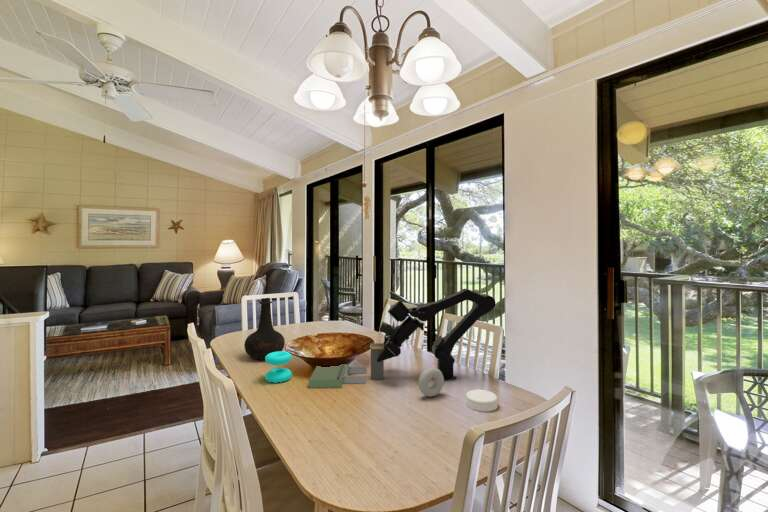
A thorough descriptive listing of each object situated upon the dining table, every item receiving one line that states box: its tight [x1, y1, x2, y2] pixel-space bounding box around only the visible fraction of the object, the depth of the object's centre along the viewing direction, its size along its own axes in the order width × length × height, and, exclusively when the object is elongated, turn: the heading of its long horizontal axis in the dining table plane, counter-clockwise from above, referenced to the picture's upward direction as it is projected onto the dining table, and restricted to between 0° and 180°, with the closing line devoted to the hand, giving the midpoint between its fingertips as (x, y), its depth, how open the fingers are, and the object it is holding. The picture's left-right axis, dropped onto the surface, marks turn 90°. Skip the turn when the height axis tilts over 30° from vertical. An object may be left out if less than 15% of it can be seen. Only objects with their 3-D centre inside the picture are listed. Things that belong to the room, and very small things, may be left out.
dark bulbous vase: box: [244, 297, 286, 360], centre depth 170 cm, size 18×18×28 cm
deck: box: [308, 363, 368, 389], centre depth 143 cm, size 20×20×4 cm
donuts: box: [264, 350, 293, 384], centre depth 142 cm, size 10×10×10 cm
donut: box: [418, 366, 445, 398], centre depth 125 cm, size 10×3×10 cm, turn 118°
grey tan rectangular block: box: [369, 342, 385, 381], centre depth 143 cm, size 5×5×13 cm
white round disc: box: [465, 389, 499, 413], centre depth 118 cm, size 10×10×4 cm
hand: (377, 357), depth 143 cm, fingers open, 9 cm apart
